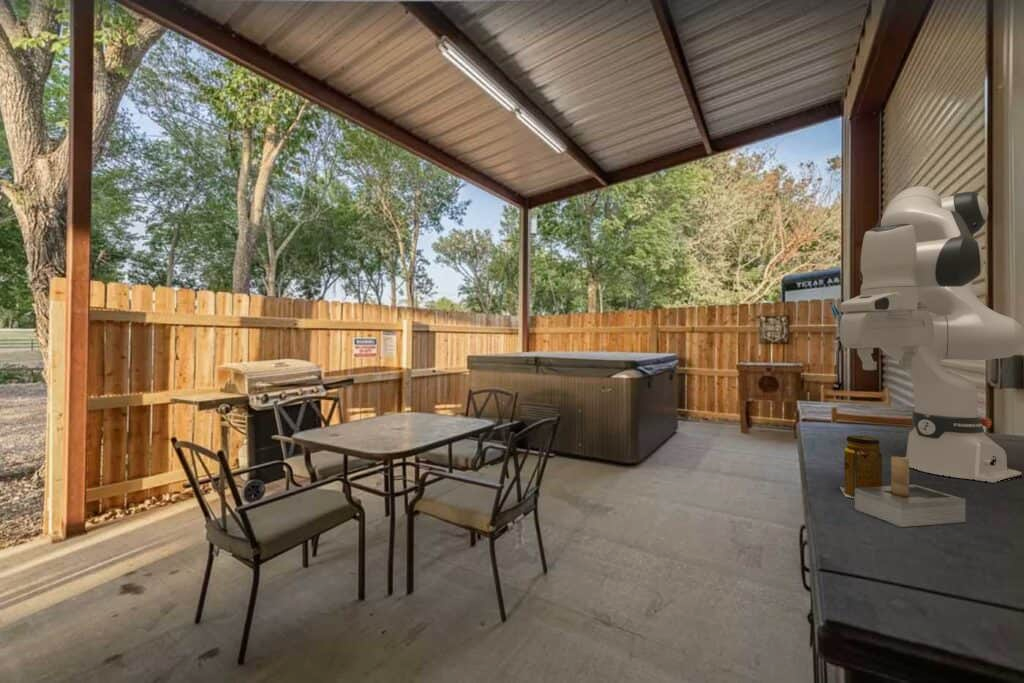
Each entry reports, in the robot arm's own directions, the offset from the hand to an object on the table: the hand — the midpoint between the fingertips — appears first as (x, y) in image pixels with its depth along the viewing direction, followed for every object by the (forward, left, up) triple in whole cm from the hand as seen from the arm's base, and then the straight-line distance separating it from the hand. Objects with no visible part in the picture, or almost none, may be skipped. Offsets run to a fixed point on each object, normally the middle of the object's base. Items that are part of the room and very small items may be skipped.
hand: (887, 369), depth 88 cm
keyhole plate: (+8, +9, -26) cm, 29 cm away
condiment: (+5, 0, -27) cm, 27 cm away
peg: (+9, +9, -26) cm, 29 cm away
